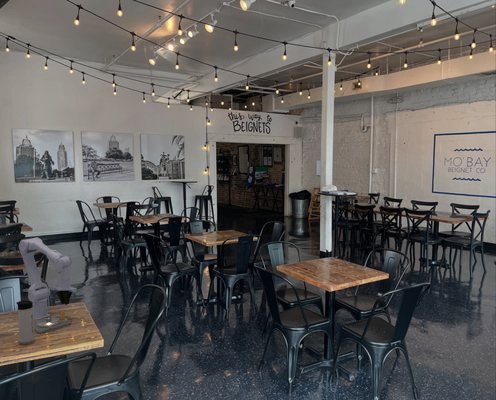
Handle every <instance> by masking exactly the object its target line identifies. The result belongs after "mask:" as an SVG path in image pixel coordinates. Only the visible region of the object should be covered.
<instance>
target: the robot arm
mask: <svg viewBox="0 0 496 400" xmlns="http://www.w3.org/2000/svg"><path fill="white" fill-rule="evenodd" d="M18 249H19V252H20V255H21V257H22V258H21V259H22V261H23V264H24V266H25V267H24V268H25V270H26V273H27V276H28V280H29V282H30V286H29V288H28V289H27V294H28V295H27V296H28V301H32V303H33V319H34V320H36V321H37V320H42V319H46V318H47V317H52V316H51V314H49V313H48V299H49V297H50V296H51V291H50V288H49V287H48V285H47V283H45V282H43V281H42V279H41V275H40V272H39V270H38V266H37V263H36V260H35V257H34V256H35V254H36V253H37V252H40V253H41V254H44V255H45V256H46V258H47V260H49V261H50V262H52V263H53V264H54V266H55V268H56V272H57V282H58V283H57V285H54V286H52V291H56V292H55V295H57V296H58V298H59V301H60V303H61V305H65V306H68V305H69V304H70V300H71V296H72V294H74V293H77V292H78V291H77V290H78V289H77V287H75V286H71V278H70V277H71V273H70V267H71V266H72V262H73V261H72V259H71V257H70V256H69V255H63V254H62V253H60V252H58V250H57V249H50V248H49V247H48V246H47V245H46V244H44V242H43V240H42V239H41V238H40V237H32V238H26V239H21V240H20V242H19V244H18Z"/></svg>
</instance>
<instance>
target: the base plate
mask: <svg viewBox="0 0 496 400" xmlns="http://www.w3.org/2000/svg"><path fill="white" fill-rule="evenodd" d="M51 317H52V318H53V317H56V318H60V315H55V316H51ZM39 321H40V320H38V321H37V320H36V321H34V333H36V334H38V335H42V334H45V333H49V332H53V331H56V330H59V329H62V328H65V327H68V326H69V327H70V326H72V322H71V321H69V320H67V322H63V323H59V324H57V325H55V326H51V324H49V327H38V326H37V323H38V322H39Z"/></svg>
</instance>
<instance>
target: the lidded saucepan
mask: <svg viewBox="0 0 496 400" xmlns="http://www.w3.org/2000/svg"><path fill="white" fill-rule="evenodd" d="M59 316H60V318H56V317H55V316H48V317H45V318H42V319H39V320H38V321H39V322H38V323H37V326H38V327H49V324H51V326H55V325H57V324H59V323H63V322H67V321H68V318H67V317H66V313H65V310H60V312H59ZM52 317H53V318H52Z"/></svg>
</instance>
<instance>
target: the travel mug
mask: <svg viewBox="0 0 496 400" xmlns="http://www.w3.org/2000/svg"><path fill="white" fill-rule="evenodd" d="M16 305H17V321H18V337H19V338H18V340H19V344H20V345H22V346H23V345H25V346H26V345H30V344H33V343H34V342H35V341H36V338H35V331H34V322H35V321H34V320H35V319H33V303H32V301H30V300H19V301H17V302H16Z"/></svg>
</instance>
